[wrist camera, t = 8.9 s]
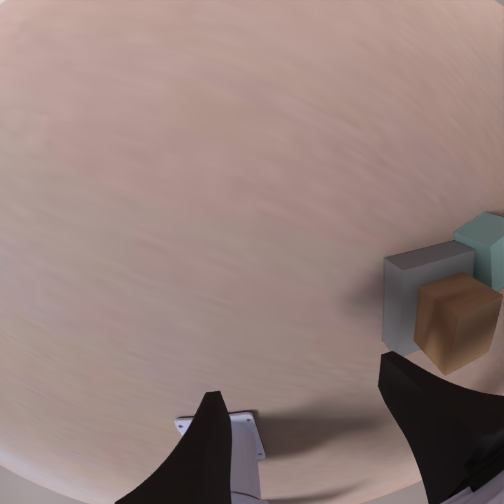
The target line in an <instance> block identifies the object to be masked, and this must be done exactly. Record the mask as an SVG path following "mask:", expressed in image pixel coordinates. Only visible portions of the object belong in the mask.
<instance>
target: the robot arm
mask: <svg viewBox="0 0 504 504" xmlns="http://www.w3.org/2000/svg"><path fill="white" fill-rule="evenodd" d="M378 387H379V390H380V392H381V395H382V397H383V399H384V401H385V404H386V405H387V407H388V409H389V410H390V412H391V414H392V415H393V417H394V419H395V420H396V422H397V423H398V425H399V427H400V428H401V430H402V432H403V433H404V435H405V437H406V439H407V441H408V443H409V445H410V447H411V450H412V452H413V454H414V457H415V459H416V462H417V465H418V468H419V470H420V473H421V477H422V480H423V483H424V486H425V490H426V494H427V499H428V503H429V504H504V396H500V395H493V394H487V393H482V392H478V391H474V390H470V389H467V388H464V387H461V386H458V385H455V384H453V383H450V382H448V381H446V380H444V379H441V378H439V377H437V376H435V375H433V374H431V373H430V372H428V371H426V370H424V369H422V368H421V367H419V366H417V365H416V364H414V363H412V362H411V361H409V360H407V359H406V358H404V357H403V356H401V355H399V354H398V353H396V352H394V351H391V352H388V353H385V354H382V355H381V363H380V373H379V381H378ZM174 423H175V425H176V427H177V428H178V430H179V432H180V433H181V435H182V436H183V437H182V438H181V440H180V441H179V443H178V444H177V446H176V447H175V448H174V450H173V451H172V452H171V454H170V455H169V456H168V457H167V459H166V460H165V461H164V462H163V463H162V464H161V465H160V467H159V468H158V469H157V470H156V471H155V472H154V473H153V474H152V475H151V476H150V477H149V478H147V479H146V480H145V481H144V482H143V483H142V484H140V485H139V486H138V487H137V488H135V489H134V490H133V491H131V492H130V493H128V494H127V495H125V496H124V497H122V498H121V499H119V500H118V501H116V502H115V504H268V501H266V500H261V491H260V481H259V470H258V460H264V459H265V458H266V455H265V452H264V449H263V446H262V443H261V439H260V436H259V433H258V430H257V427H256V424H255V420H254V417H253V414H252V413H251V412H242V413H234V414H229V413H228V411H227V408H226V406H225V403H224V400H223V398H222V395H221V392H220V391H214V392H206V393H205V395H204V397H203V399H202V401H201V404H200V406H199V408H198V410H197V412H196V414H195V416H194V417H193V418H178V419H175V422H174Z"/></svg>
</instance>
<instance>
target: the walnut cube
mask: <svg viewBox="0 0 504 504" xmlns="http://www.w3.org/2000/svg"><path fill="white" fill-rule="evenodd" d="M502 297H503V295H502V294H500V293H498V292H497V291H495V290H493V289H492V288H490V287H488V286H487V285H485V284H483V283H481V282H480V281H478V280H476V279H475V278H473V277H471V276H469V275H467V274H466V273H464V272H462V273H459V274H456V275H453V276H450V277H447V278H444V279H441V280H438V281H435V282H432V283H429V284H426V285H423V286H420V287H419V289H418V303H417V314H416V323H415V331H414V339H413V341H414V342H415V343H416V344H417V345H418V346H419V347H420V349H421V350H422V351H423V352H424V353H425V354H426V355H427V356H428V357H429V359H430V360H431V361H432V362H433V363H434V364H435V365H436V366H437V367H438V369H439V370H440V371H441V372H442V373H443V374H444V375H447V374H449V373H451V372H453V371H455V370H457V369H459V368H461V367H462V366H464V365H466V364H468V363H470V362H471V361H473V360H475V359H477V358H478V357H480V356H482V355H483V354H485V353H487V352H488V351H489V349H490V346H491V342H492V339H493V335H494V332H495V328H496V324H497V320H498V316H499V312H500V307H501V302H502Z"/></svg>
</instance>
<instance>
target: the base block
mask: <svg viewBox="0 0 504 504" xmlns="http://www.w3.org/2000/svg"><path fill="white" fill-rule="evenodd" d="M474 260H475V249H473V248H471V247H469V246H466V245H464V244H462V243H459V242H457V241H450V242H446V243H442V244H438V245H434V246H431V247H427V248H423V249H419V250H415V251H410V252H406V253H402V254H398V255H394V256H390V257H386V258H384V315H383V335H382V341H383V342H384V343H385V344H386V346H387V347H388V348H389V349H390V351H394V352H396V353H398V354H399V355H401V356H405V355H407V354H410V353H413V352H415V351H418V350H420V347H419V346H418V345H417V344H416V343H415V342H414V341H413V339H414V331H415V323H416V314H417V303H418V289H419V287H420V286H423V285H426V284H429V283H432V282H435V281H438V280H441V279H444V278H447V277H450V276H453V275H456V274H459V273H462V272H464V273H466V274H467V275H469V276H471V277H473V270H474Z"/></svg>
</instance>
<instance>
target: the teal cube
mask: <svg viewBox="0 0 504 504" xmlns="http://www.w3.org/2000/svg"><path fill="white" fill-rule="evenodd" d="M454 238H455V241H457V242H459V243H462V244H464V245H466V246H469V247H471V248H473V249H475V260H474V270H473V278H475V279H476V280H478V281H480V282H481V283H483V284H485V285H487V286H488V287H490V288H492V289H493V290H495V291H497V292H499V291H500V290H501V289H502V288H503V287H504V217H501V216H497V215H494V214H490V213H487V212H483V213H482V214H480V215H479V216H477V217H476V218H474V219H473V220H471V221H470V222H468V223H467V224H465V225H464V226H462V227H461V228H459V229H458V230H456V231H455V232H454Z"/></svg>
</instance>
